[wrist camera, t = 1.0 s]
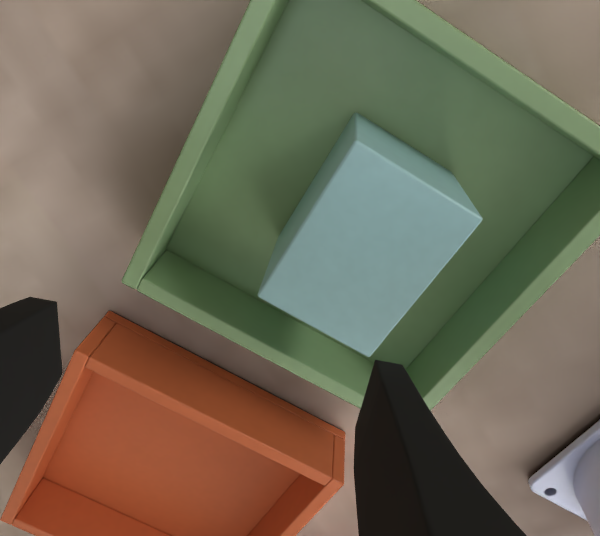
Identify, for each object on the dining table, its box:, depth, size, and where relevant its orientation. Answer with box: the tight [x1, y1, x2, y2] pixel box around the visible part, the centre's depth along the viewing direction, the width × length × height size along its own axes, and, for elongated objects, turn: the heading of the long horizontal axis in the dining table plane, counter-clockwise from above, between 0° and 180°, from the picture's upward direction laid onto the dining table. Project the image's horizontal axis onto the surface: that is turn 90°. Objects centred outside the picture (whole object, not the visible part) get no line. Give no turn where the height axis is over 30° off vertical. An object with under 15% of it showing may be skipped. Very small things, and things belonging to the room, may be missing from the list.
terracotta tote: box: [0, 311, 345, 536], centre depth 24 cm, size 12×12×3 cm
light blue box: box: [258, 112, 483, 357], centre depth 16 cm, size 4×5×5 cm
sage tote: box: [122, 0, 600, 410], centre depth 17 cm, size 12×12×3 cm
